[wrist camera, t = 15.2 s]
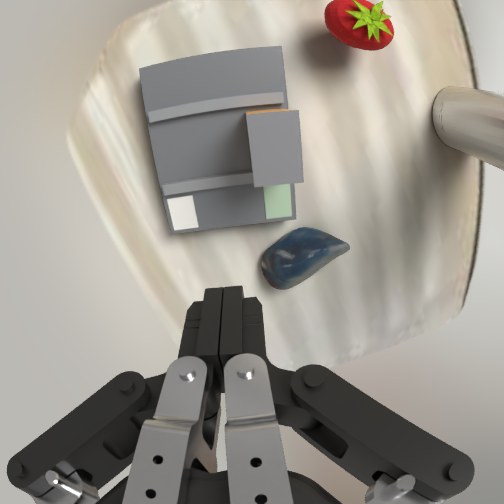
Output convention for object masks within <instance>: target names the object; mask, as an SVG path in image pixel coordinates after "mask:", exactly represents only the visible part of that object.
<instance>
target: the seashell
mask: <svg viewBox="0 0 504 504" xmlns="http://www.w3.org/2000/svg"><path fill="white" fill-rule="evenodd" d="M349 249H350V246H349V244H347V243H346V242H344V241H342V240H340V239H338V238H336V237H334V236H332V235H329V234H327V233H325V232H322V231H320V230H317V229H313V228H308V227H303V228H298V229H296V230H293V231H291V232H290V233H289V234H287V235H285V236H284V237H282V238H281V239H280V240H279V241H278V242H277V243H275V244H274V245H273V246H271V247H270V248H269V249H268V250H267V251H266V252H265V254H264V256H263V259H262V262H261V267H262V271H263V274H264V277H265V278H266V280H267V282H268V283H269V284H270V285H271V286H272V287H274V288H276V289H281V290H284V289H288V288H291V287H293V286H295V285H297V284H299V283H301V282H302V281H304V280H305V279H307V278H309V277H310V276H311V275H313V274H314V273H316V272H317V271H318V270H319V269H321V268H322V267H323V266H325V265H326V264H327V263H329V262H330V261H332V260H333V259H335V258H336V257H338V256H340V255H342V254H344V253H345V252H347V251H348V250H349Z"/></svg>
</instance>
